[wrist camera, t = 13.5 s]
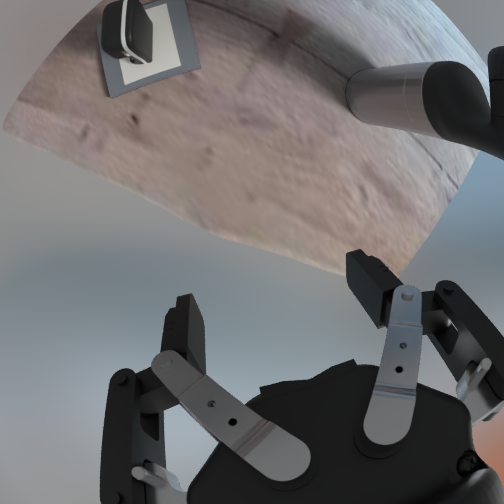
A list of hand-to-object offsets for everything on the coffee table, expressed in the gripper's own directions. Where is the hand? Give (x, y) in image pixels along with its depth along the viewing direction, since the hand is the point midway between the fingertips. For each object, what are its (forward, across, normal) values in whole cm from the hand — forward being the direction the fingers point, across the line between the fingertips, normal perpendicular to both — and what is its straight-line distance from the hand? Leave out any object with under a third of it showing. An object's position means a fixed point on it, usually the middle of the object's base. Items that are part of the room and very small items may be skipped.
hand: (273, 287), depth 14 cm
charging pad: (+28, +7, -22) cm, 36 cm away
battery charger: (+27, +8, -22) cm, 36 cm away
